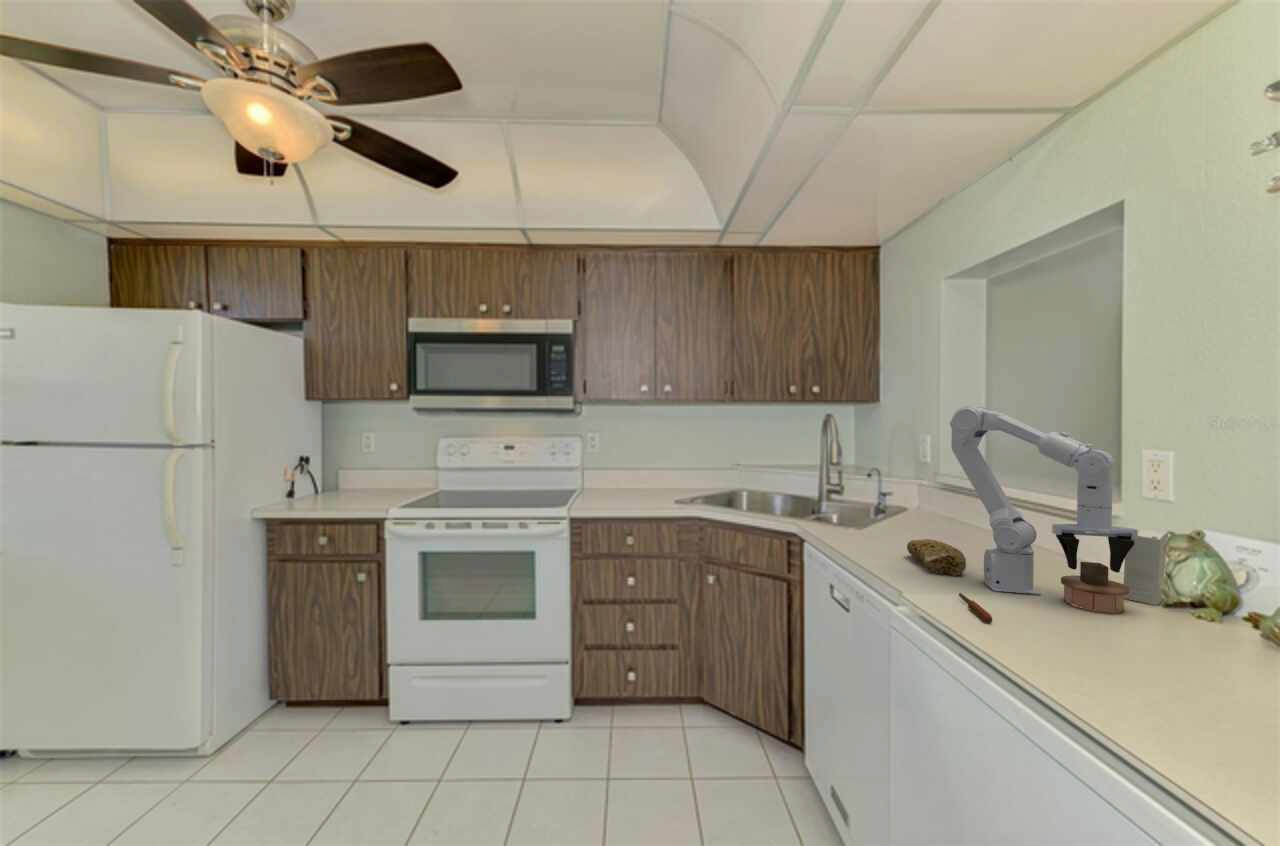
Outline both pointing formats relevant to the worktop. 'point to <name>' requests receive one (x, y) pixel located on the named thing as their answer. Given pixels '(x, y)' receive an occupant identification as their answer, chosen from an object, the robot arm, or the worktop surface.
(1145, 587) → the skincare box
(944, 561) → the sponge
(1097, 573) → the lid
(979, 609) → the red handled screwdriver
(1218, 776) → the worktop surface
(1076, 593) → the bowl
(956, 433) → the robot arm
